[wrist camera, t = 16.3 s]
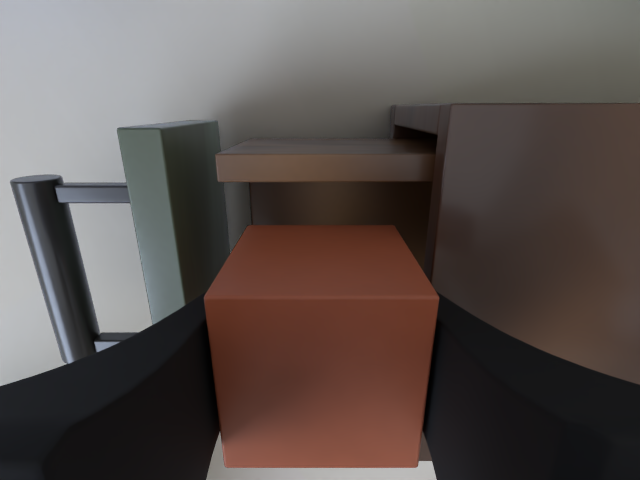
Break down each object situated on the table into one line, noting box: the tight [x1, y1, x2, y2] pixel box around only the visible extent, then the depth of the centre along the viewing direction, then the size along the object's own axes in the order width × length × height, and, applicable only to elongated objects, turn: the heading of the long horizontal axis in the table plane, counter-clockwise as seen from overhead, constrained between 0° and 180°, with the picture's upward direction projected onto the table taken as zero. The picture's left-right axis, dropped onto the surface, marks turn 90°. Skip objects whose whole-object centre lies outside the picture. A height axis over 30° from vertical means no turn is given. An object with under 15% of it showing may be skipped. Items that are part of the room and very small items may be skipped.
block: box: [204, 225, 439, 468], centre depth 10 cm, size 5×5×5 cm
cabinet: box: [390, 103, 640, 461], centre depth 14 cm, size 14×12×8 cm
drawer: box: [10, 120, 437, 364], centre depth 14 cm, size 17×10×6 cm, turn 90°
